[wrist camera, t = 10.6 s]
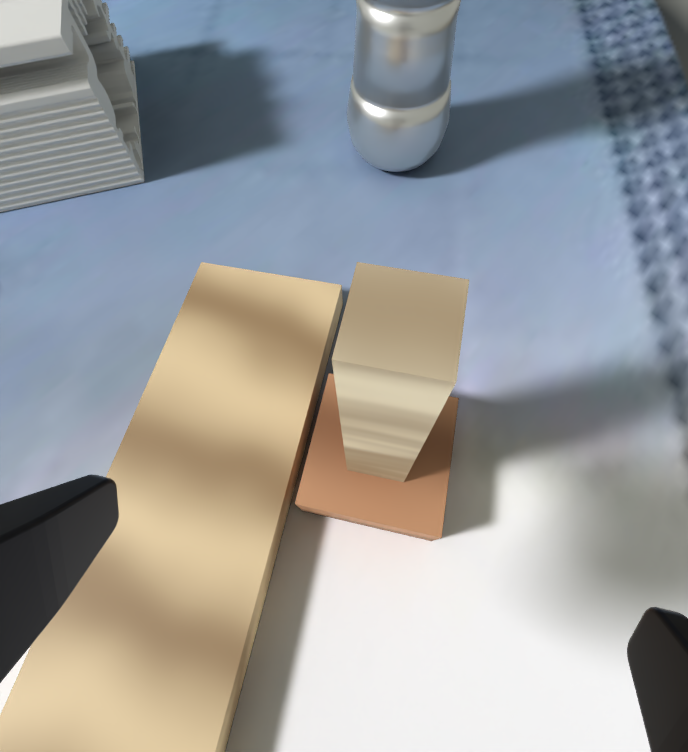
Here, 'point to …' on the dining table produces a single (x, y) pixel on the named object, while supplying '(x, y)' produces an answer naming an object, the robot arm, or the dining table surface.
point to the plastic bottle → (401, 80)
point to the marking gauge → (389, 404)
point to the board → (186, 529)
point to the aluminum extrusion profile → (64, 103)
